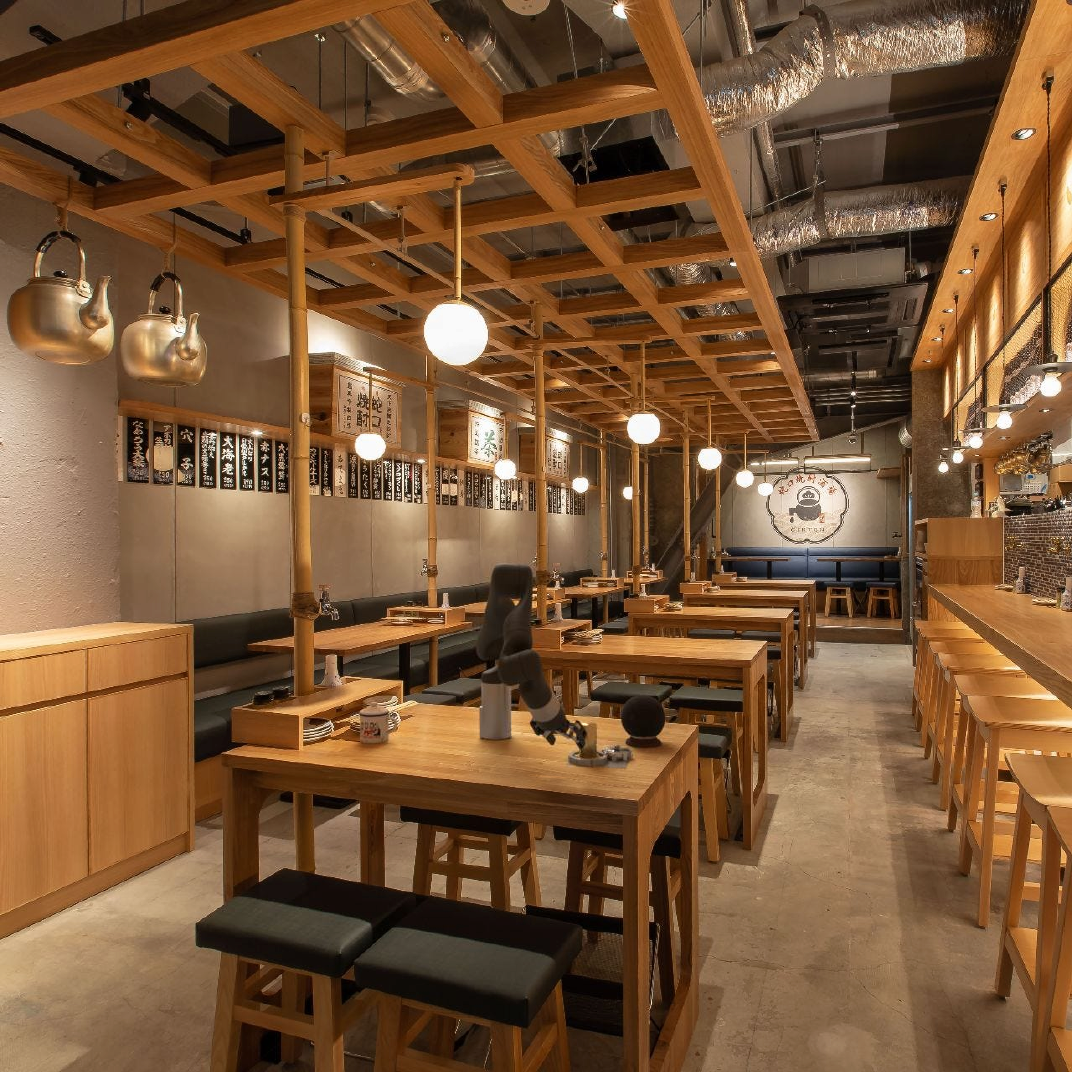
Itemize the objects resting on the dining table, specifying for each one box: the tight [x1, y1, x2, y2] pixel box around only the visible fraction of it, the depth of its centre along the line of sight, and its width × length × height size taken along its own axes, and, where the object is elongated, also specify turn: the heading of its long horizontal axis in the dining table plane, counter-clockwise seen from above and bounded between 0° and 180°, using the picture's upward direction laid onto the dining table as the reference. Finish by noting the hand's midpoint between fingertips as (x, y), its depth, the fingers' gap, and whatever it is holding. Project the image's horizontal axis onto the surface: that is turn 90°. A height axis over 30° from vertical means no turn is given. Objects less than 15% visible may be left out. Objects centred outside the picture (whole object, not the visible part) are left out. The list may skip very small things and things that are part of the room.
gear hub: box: [574, 721, 602, 760], centre depth 209 cm, size 8×7×10 cm
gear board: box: [565, 750, 634, 770], centre depth 210 cm, size 16×14×2 cm
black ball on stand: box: [620, 694, 667, 749], centre depth 227 cm, size 13×13×15 cm
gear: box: [601, 744, 633, 761], centre depth 212 cm, size 8×8×3 cm
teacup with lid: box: [358, 701, 398, 744], centre depth 237 cm, size 12×9×12 cm
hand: (567, 744), depth 199 cm, fingers open, 8 cm apart
